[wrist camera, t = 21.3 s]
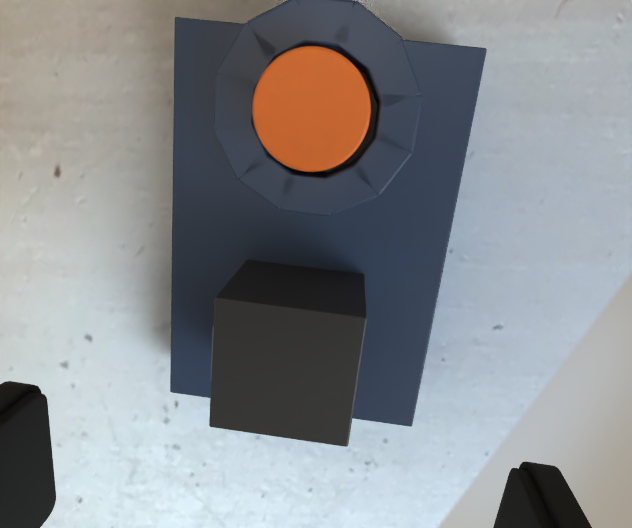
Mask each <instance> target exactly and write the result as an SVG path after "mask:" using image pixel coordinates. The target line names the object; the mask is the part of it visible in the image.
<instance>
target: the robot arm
mask: <svg viewBox="0 0 632 528" xmlns="http://www.w3.org/2000/svg"><path fill="white" fill-rule="evenodd" d="M55 501H56V491H55V480H54V470H53V459H52V448H51V437H50V427H49V416H48V405H47V398H46V396H45V395H44V394H41V390H40V389H39V387H38V386H35V385H31V384H24V383H18V382H11V381H8V382H4V383H2V384H0V528H40V527H41V526H42V525H43V523H44V522H45V521H46V520H47V518H48V517H49V515H50V514H51V512H52V510H53V508H54V505H55ZM494 528H592V527H591V525H590V523H589V522H588V520H587V518H586V516H585V515H584V513H583V511H582V509H581V507H580V506H579V504H578V502H577V500H576V498H575V497H574V495H573V493H572V491H571V489H570V488H569V486H568V484H567V482H566V481H565V479H564V477H563V475H562V474H561V472H560V470H559V469H558V468H557V467H555V466H551V465H544V464H537V463H531V462H523V463H522V464H521V465H520V467H519V469H517V468H512V469H511V471H510V473H509V476H508V480H507V483H506V487H505V490H504V493H503V497H502V500H501V503H500V507H499V510H498V514H497V518H496V521H495V524H494Z"/></svg>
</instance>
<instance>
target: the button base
mask: <svg viewBox="0 0 632 528" xmlns="http://www.w3.org/2000/svg"><path fill="white" fill-rule="evenodd" d="M401 39H402V37H401V36H400V35H399V34H397V33H396V32H395V31H394V30H392V29H391V28H390V27H389V26H387V25H386V24H385V23H384V22H382V21H381V20H380V19H379V18H377V17H376V16H375V15H374V14H373V13H371V12H370V11H369V10H368V9H366V8H365V7H364V6H363V5H361V4H360V3H359V2H358V1H356V2H355V1H353V0H287V1H285V2H283V3H282V4H280V5H278V6H276V7H274V8H272V9H270V10H268V11H266V12H265V13H263V14H261V15H259V16H257V17H255V18H253V19H251V20H250V21H248V23H245V24H240V23H230V22H220V21H210V20H200V19H190V18H180V17H176V18H175V52H174V136H173V220H172V303H171V387H170V391H171V392H173V393H180V394H187V395H194V396H201V397H208V398H211V358H212V333H213V326H214V303H215V297H216V296H217V295H218V294H219V292H220V291H221V290H222V289H223V288H224V286H225V285H226V284H227V283H228V282H229V280H230V279H231V278H232V277H233V276H234V274H235V273H236V272H237V271H238V270H239V268H240V267H241V266H242V265H243V264H244V262H245V261H246V260H254V261H262V262H270V263H278V264H286V265H294V266H302V267H310V268H318V269H326V270H334V271H342V272H350V273H358V274H364V275H365V291H366V308H367V323H366V330H365V336H364V343H363V350H362V356H361V363H360V370H359V376H358V383H357V389H356V396H355V403H354V409H353V416H352V418H355V419H362V420H369V421H376V422H383V423H390V424H397V425H404V426H412V423H413V418H414V413H415V408H416V403H417V398H418V393H419V388H420V383H421V378H422V373H423V368H424V363H425V358H426V353H427V348H428V343H429V338H430V333H431V328H432V323H433V318H434V313H435V307H436V302H437V297H438V292H439V287H440V282H441V277H442V272H443V267H444V262H445V257H446V252H447V247H448V242H449V237H450V232H451V227H452V222H453V217H454V212H455V207H456V202H457V197H458V192H459V186H460V181H461V176H462V171H463V166H464V161H465V156H466V151H467V146H468V141H469V136H470V131H471V126H472V121H473V116H474V111H475V106H476V101H477V96H478V91H479V86H480V81H481V76H482V71H483V65H484V60H485V55H486V48H479V47H469V46H459V45H449V44H439V43H429V42H419V41H409V40H401ZM305 46H319V47H324V48H328V49H331V50H334V51H336V52H338V53H340V54H341V55H343V56H344V57H346V58H347V59H348V60H349V61H350V62H351V63H353V64H354V66H355V67H356V68H357V69H358V70H359V72H360V74H361V75H362V77H363V79H364V81H365V83H366V85H367V88H368V92H369V96H370V103H371V115H370V122H369V126H368V129H367V132H366V135H365V137H364V139H363V141H362V143H361V144H360V146H359V147H358V149H357V150H356V151H355V152H354V153H353V154H352V155H351V156H350V157H349V158H348V159H347V160H345V161H344V162H343V163H341V164H339V165H337V166H335V167H333V168H330V169H328V170H323V171H317V172H305V171H300V170H296V169H293V168H290V167H288V166H286V165H284V164H282V163H281V162H279V161H277V160H276V159H275V158H274V157H273V156H272V155H271V154H270V153H269V152H268V151H267V150H266V149H265V147H264V146H263V144H262V143H261V141H260V139H259V137H258V135H257V132H256V130H255V126H254V122H253V115H252V103H253V96H254V92H255V88H256V85H257V83H258V81H259V79H260V77H261V75H262V73H263V72H264V71H265V69H266V68H267V67H268V66H269V65H270V64H271V62H272V61H274V60H275V59H276V58H277V57H279V56H280V55H282V54H284V53H285V52H287V51H290V50H292V49H295V48H299V47H305Z"/></svg>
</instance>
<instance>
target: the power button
mask: <svg viewBox="0 0 632 528" xmlns="http://www.w3.org/2000/svg"><path fill="white" fill-rule="evenodd" d="M252 115H253V122H254V126H255V130H256V132H257V135H258V137H259V139H260V141H261V143H262V144H263V146H264V147H265V149H266V150H267V151H268V152H269V153H270V154H271V155H272V156H273V157H274V158H275V159H276V160H277V161H279V162H281V163H282V164H284V165H286V166H288V167H290V168H293V169H296V170H300V171H305V172H317V171H323V170H328V169H330V168H333V167H335V166H337V165H339V164H341V163H343V162H344V161H345V160H347V159H348V158H349V157H350V156H351V155H352V154H353V153H354V152H355V151H356V150H357V149H358V147H359V146H360V144H361V143H362V141H363V139H364V137H365V135H366V132H367V129H368V126H369V122H370V115H371V103H370V96H369V92H368V88H367V85H366V83H365V81H364V79H363V77H362V75H361V74H360V72H359V70H358V69H357V68H356V67H355V66H354V64H353V63H351V62H350V61H349V60H348V59H347V58H346V57H344V56H343V55H341V54H340V53H338V52H336V51H334V50H331V49H328V48H324V47H319V46H305V47H299V48H295V49H292V50H290V51H287V52H285V53H284V54H282V55H280V56H279V57H277V58H276V59H275V60H274V61H272V62H271V64H270V65H269V66H268V67H267V68H266V69H265V71H264V72H263V73H262V75H261V77H260V79H259V81H258V83H257V85H256V88H255V92H254V96H253V103H252Z"/></svg>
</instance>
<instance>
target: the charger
mask: <svg viewBox="0 0 632 528" xmlns="http://www.w3.org/2000/svg"><path fill="white" fill-rule="evenodd" d="M366 323H367V308H366V291H365V275H364V274H358V273H350V272H342V271H334V270H326V269H318V268H310V267H302V266H294V265H286V264H278V263H270V262H262V261H254V260H246V261H245V262H244V264H243V265H242V266H241V267H240V268H239V270H238V271H237V272H236V273H235V274H234V276H233V277H232V278H231V279H230V280H229V282H228V283H227V284H226V285H225V286H224V288H223V289H222V290H221V291H220V292H219V294H218V295H217V296H216V297H215V303H214V326H213V333H212V358H211V399H210V423H209V425H210V427H215V428H222V429H229V430H236V431H243V432H250V433H256V434H263V435H270V436H277V437H284V438H291V439H298V440H305V441H311V442H318V443H325V444H332V445H339V446H348V443H349V436H350V429H351V423H352V416H353V409H354V403H355V396H356V389H357V383H358V376H359V370H360V363H361V356H362V350H363V343H364V336H365V330H366Z"/></svg>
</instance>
